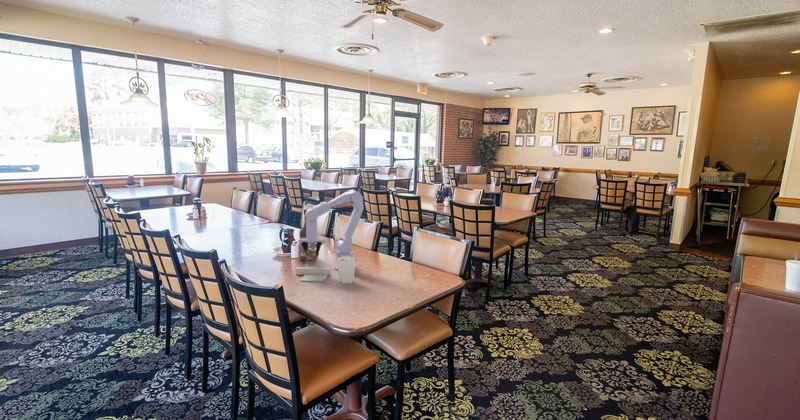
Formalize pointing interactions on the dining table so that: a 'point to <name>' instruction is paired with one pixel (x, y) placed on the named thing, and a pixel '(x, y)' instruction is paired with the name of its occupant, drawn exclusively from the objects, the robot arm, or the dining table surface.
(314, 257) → the walnut cube
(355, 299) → the dining table surface
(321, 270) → the grey screen
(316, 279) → the sage mat
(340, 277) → the cup
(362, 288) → the dining table surface
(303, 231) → the liquor
